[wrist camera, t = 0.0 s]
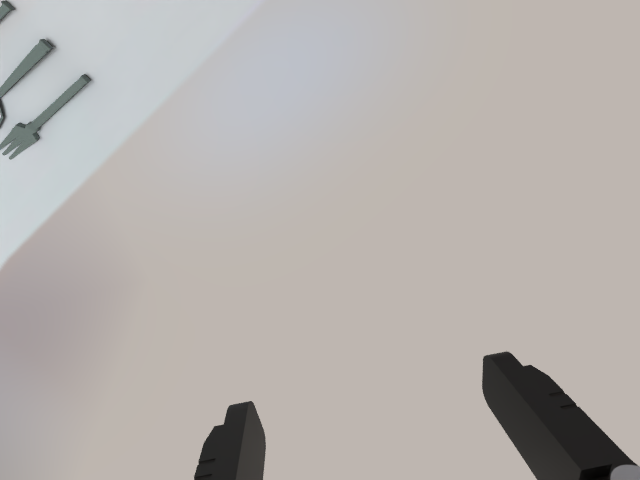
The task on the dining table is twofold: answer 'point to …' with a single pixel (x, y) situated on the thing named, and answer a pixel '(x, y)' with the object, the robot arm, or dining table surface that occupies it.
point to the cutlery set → (29, 131)
